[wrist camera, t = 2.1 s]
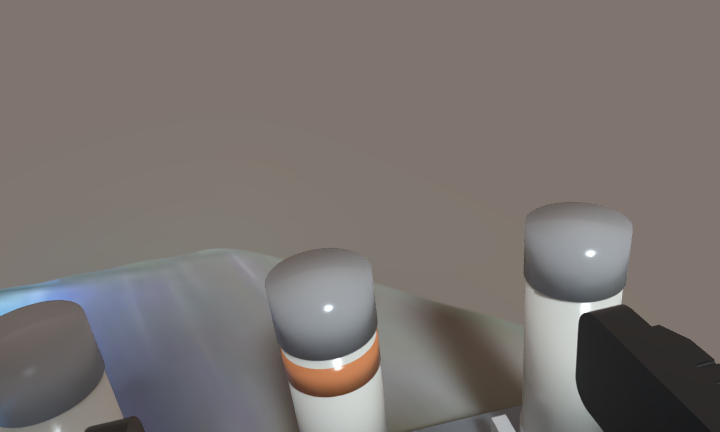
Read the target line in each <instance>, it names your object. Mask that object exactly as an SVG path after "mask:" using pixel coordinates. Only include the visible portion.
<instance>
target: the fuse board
mask: <svg viewBox="0 0 720 432" xmlns="http://www.w3.org/2000/svg"><path fill="white" fill-rule="evenodd" d="M521 410H522V405H518V406H514V407H510V408H506V409H502V410H498V411H493V412H489V413H485V414H481V415H477V416H473V417H469V418H464V419H460V420H456V421H452V422H448V423H444V424H440V425H435V426H431V427H427V428H423V429H419V430H415V431H411V432H519V429H520V413H521Z"/></svg>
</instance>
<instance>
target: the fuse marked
mask: <svg viewBox="0 0 720 432" xmlns="http://www.w3.org/2000/svg"><path fill="white" fill-rule="evenodd" d="M265 288H266V292H267V297H268V301H269V306H270V310H271V315H272V320H273V324H274V329H275V333H276V338H277V342H278V344H279V346H280V350H281V355H282V359H283V364H284V369H285V373H286V377H287V380H288V381H289V386H290V391H291V395H292V400H293V405H294V409H295V414H296V418H297V423H298V428H299V432H388V426H387V417H386V409H385V400H384V392H383V383H382V375H381V367H380V361H381V358H380V348H379V340H378V331H377V324H378V322H377V312H376V304H375V295H374V286H373V278H372V269H371V265H370V263H369V261H367V259H366V258H364V257H363V256H362V255H360V254H358V253H356V252H353V251H350V250H345V249H338V248H323V249H315V250H310V251H306V252H302V253H299V254H296V255H294V256H291V257H289V258H287V259H285V260H283V261H282V262H280V263H279V264H278V265H276V266H275V267H274V268H273V269H272V270H271V271H270V273H269V274H268V276H267V278H266V281H265Z"/></svg>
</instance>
